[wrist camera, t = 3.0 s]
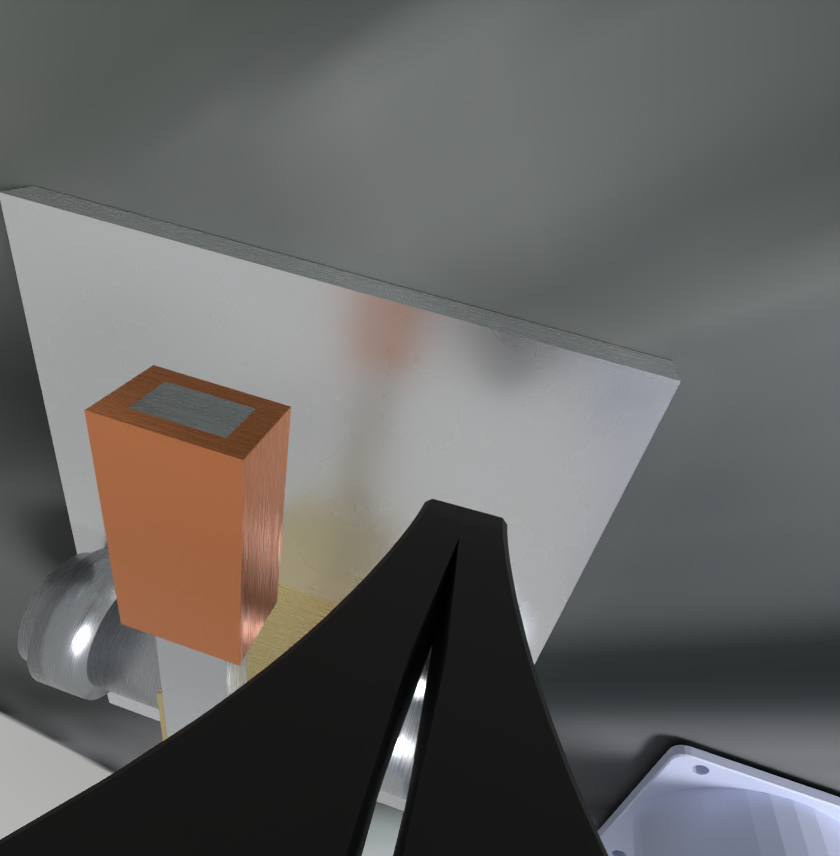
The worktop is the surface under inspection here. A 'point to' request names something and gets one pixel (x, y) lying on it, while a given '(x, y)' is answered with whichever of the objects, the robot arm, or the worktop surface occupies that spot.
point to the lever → (192, 524)
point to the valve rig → (316, 426)
